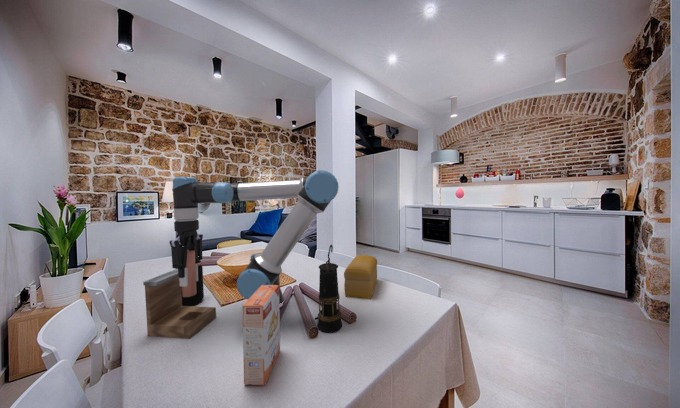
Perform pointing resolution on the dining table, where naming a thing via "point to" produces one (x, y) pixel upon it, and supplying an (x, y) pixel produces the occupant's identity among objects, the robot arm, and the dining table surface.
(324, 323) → the lantern
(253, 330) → the cracker box
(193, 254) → the peg
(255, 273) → the robot arm
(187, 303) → the coffee jar
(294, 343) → the dining table surface
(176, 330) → the station
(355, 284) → the bread
